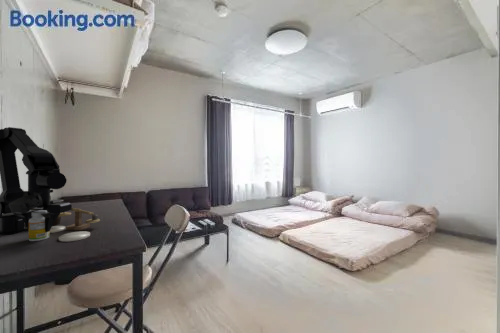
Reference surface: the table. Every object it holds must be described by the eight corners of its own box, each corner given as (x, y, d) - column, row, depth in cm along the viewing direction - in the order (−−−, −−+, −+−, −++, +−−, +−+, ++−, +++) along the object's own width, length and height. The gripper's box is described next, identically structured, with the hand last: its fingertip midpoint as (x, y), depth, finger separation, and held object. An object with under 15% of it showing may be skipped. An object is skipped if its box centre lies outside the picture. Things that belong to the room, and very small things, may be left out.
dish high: (36, 233, 86) (36, 230, 86) (52, 227, 93) (52, 225, 93) (55, 233, 86) (55, 231, 86) (69, 227, 93) (69, 226, 93)
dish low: (51, 241, 77) (51, 239, 77) (72, 233, 86) (72, 231, 86) (78, 241, 77) (78, 239, 77) (95, 233, 86) (95, 231, 86)
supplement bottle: (37, 236, 82) (37, 209, 82) (53, 236, 83) (53, 209, 82) (24, 241, 77) (24, 213, 77) (41, 241, 77) (41, 213, 77)
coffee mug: (47, 228, 92) (47, 203, 92) (31, 226, 94) (31, 202, 93) (75, 220, 103) (75, 199, 103) (59, 219, 105) (59, 198, 105)
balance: (52, 229, 90) (52, 207, 90) (63, 226, 95) (63, 204, 95) (94, 230, 90) (94, 207, 90) (102, 226, 95) (102, 205, 95)
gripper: (-15, 190, 71) (-14, 239, 71) (45, 191, 71) (45, 240, 72) (21, 186, 82) (21, 228, 83) (72, 187, 82) (72, 229, 83)
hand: (39, 231), depth 80 cm, fingers closed on supplement bottle, 5 cm apart
